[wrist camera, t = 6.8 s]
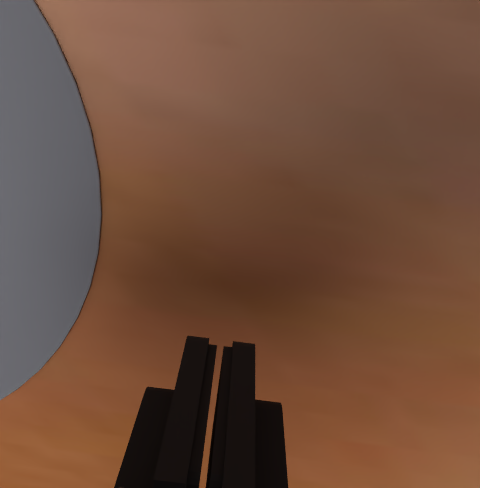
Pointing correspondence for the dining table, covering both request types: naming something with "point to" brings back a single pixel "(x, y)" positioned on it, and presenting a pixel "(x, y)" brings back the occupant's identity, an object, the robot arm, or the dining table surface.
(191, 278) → the dining table surface
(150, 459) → the robot arm
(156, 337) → the dining table surface
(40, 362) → the mat
